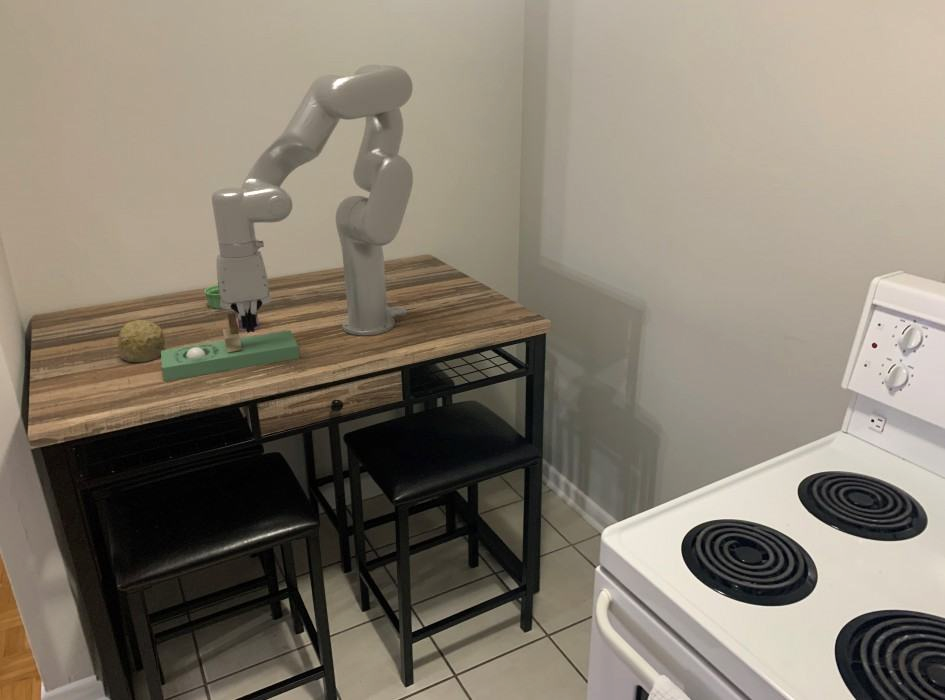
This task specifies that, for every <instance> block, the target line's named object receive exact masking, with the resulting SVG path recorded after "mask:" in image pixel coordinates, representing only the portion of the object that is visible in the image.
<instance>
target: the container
mask: <svg viewBox="0 0 945 700" xmlns="http://www.w3.org/2000/svg"><path fill="white" fill-rule="evenodd" d="M242 304H243V307H244V309H245V310H246V312H248V309H249V301H248V302H242ZM247 314H248V313H247ZM255 316H256V323H257V326H256V327H254V331H255V330H257V329H259V328H260V324H259V317H258V311H257V312H256V314H255ZM236 318H237V324H238V330H239V331H242V332H247V331H246V328H243V327H242V322H241V315H240V314H239V313H237V312H236ZM250 332H251V330H250Z"/></svg>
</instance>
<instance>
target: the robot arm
mask: <svg viewBox="0 0 945 700" xmlns="http://www.w3.org/2000/svg"><path fill="white" fill-rule="evenodd" d="M412 81H413V80H412V78H411V76H410V74H409V73H408V72H407V71H406V70H405V69H403V68H401V67H399V66H398V65H397V66H396V65H386V64H385V65H383V64H367V65H364V66H363V65H362V66H361V67H359V68H358V69H357V70H356V71H355V73H354V74H352V75H351V74H350V75H335V74H334V75H332V74H325V75H321V76H319V77H317V78H316V79H315V80H314V81H313V82H312V83H311V84H310V86H309V88H308V89H307V92H306V93H305V94H304V96H303V98H302V100H301V102H300V104H299V105H298V107H297V109H296V111H295V112H294V114H293V116H292V117H291V119H290V120H289V122H288V124H287V126H286V127H285V129H284V130H283V132H282V133H281V134H280V136H278V137H277V138H276V139H275V140H274V141H273V142H272V143H271V144H270V145H269V147H267V149H265V151H263V152H262V153H261V155H260V156H259V157H258V158H257V160H256V161H255V163H254V165H252V167H251V169H250V170H249V173H248V174H247V176H246V177H245V179H244V180H243V183H242V185H241V187H240V188H239V187H229V188H228V187H227V188H221V189H218V190H216V191H213V193H212V195H211V202H212V203H211V205H212V209H213V216H214V217H213V218H214V222H215V228H216V236H217V242H218V250H219V255H216V280H217V285H218V288H219V294H220V297H221V300H220V307H221V308H223V309H226V310H233V311H234V312H236V314H237V313H239V314H240V315H241V322H242V327H243V328H246V331H245V332H246V334H247V333H248V334H249V333H254V332H255V330H254V327H256V326H257V323H256V316H255V314H256V312H257V313H258V310H259V309H260V308H261V307H262V306H263V305H266V304H269V303H271V302H272V297H271V295H270V286H269V279H268V274H267V270H266V266H265V262H264V258H263V255H262V252H261V251H259V250H260V249H261V248H264V247H265V245H264V240H258V239H256V232H255V230H256V229H255V223H277V222H278V223H279V222H282V221H283V220H285V219H287V218H288V217H289V216H290V214H291V213H292V211H293V199H292V197H291V196H290V194H289V193H288V192H287V191H286V190H285V189H283V188H281V186H282V184H283V183H284V181H285V180H286V179H287V177H288V176H289V175H290V174H291V173H292V172H293V171H295V170H296V169H298V168H299V167H301V166H302V165H305V164H307V163H310V162H312V161H313V160H315V159H316V158H317V157H319V156H320V155H321V153H322V151H323V150H324V148H325V146H326V145H327V143H328V140H329V139H330V137H331V135H332V134H333V132H334V131H335V128H337V126H338V124H339V122H340V121H341V120H345V121H347V120H355V119H356V120H357V119H361V118H362V119H363V118H365V125H364V130H363V131H364V132H363V136H362V140H361V144H360V147H359V149H358V150H359V151H358V153H357V157H356V160H355V163H354V169H353V172H352V173H353V176H352V177H353V180H354V183H355V184H356V186H358V187H359V188H360V189H362V190H364V191H366V192H369V196H368V197H366V196H363V195H351V196H348V197H346V198H345V199H343V200H342V201H341V202H340V203H339V204H338V207H337V209H336V213H335V225H336V229H337V230H336V231H337V234H338V238H339V241H340V242H339V243H340V247H341V253H342V254H341V255H342V263H343V275H344V285H345V296H346V309H347V317H346V319H344V320H343V322H342V329H343V332H344V331H345V332H346V333H348V334H351V335H356V336H373V335H380V334H383V333H386V332H388V331H390V330H392V329H393V328H394V326H395V324H396V323H395V318H396V317H403V316H404V317H405V316H407V315H408V311H407V308H406V307H399V306H398V305H396V306H393V307H392V306H391V307H389V305H388V300H387V287H386V276H385V275H386V273H385V258H384V257H385V256H384V250H383V246H386V245H388V244H390V243H392V242H393V240H394V239H395V238H396V237H397V235H398V233H399V231H400V229H401V226H402V223H403V220H404V217H405V213H406V210H407V206H408V203H409V199H410V197H411V192H412V190H413V183H414V176H413V175H414V174H413V170H412V167H411V165H410V163H409V161H408V160H407V159H406V158H405V157H403V156H402V155H399V152H400V147H401V145H402V144H401V143H402V139H403V134H404V120H403V115H402V112H401V107H403V106H405V105H406V103H408V102H409V100H410V99H411V96H412V93H413V82H412ZM248 301H249V309H248V312H246V310H245V309H244V307H243V304H242V302H248ZM247 313H248V314H247ZM250 330H251V331H250Z"/></svg>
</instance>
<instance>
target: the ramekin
mask: <svg viewBox="0 0 945 700" xmlns="http://www.w3.org/2000/svg"><path fill="white" fill-rule="evenodd" d="M204 294H205V297H206V300H207V304H208V307H209V306H210V308H211V309H214V308H217V310H222V309H223V308H221V307H220V300H221V297H220V294H219V288H218V284H215V285H211V286H208V287H207V288H205V289H204Z"/></svg>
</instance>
